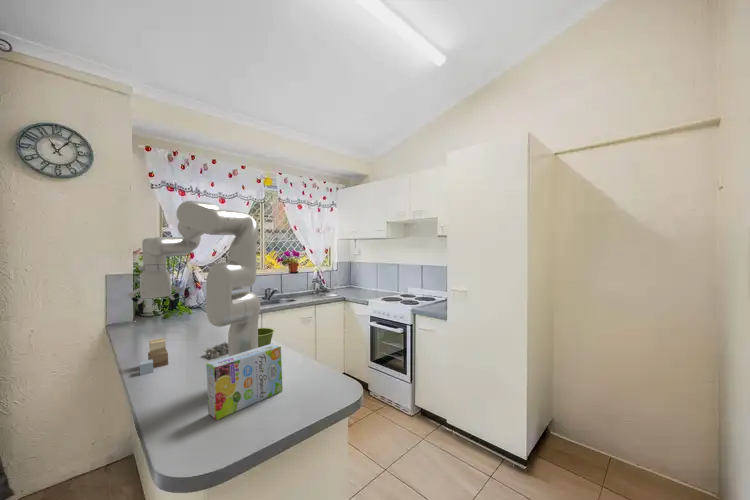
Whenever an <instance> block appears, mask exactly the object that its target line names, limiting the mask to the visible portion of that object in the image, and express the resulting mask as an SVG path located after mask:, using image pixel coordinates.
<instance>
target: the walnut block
mask: <svg viewBox="0 0 750 500" xmlns="http://www.w3.org/2000/svg"><path fill="white" fill-rule="evenodd" d="M151 359H153V369H156V368H159V367H160V368H161V367H165V366H168V365H169V352H168V351H167V349H166V353H164V354H159V355H154V356H150V351H149V352H147V360H151Z"/></svg>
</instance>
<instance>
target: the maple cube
mask: <svg viewBox="0 0 750 500" xmlns="http://www.w3.org/2000/svg"><path fill="white" fill-rule="evenodd" d="M148 346H149V352H150V356H154V355H159V354H164V353H166V350H167V349H166V348H167V347H166V339H165V337H160V338H156V339H149V345H148Z"/></svg>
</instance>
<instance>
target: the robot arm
mask: <svg viewBox="0 0 750 500" xmlns="http://www.w3.org/2000/svg"><path fill="white" fill-rule="evenodd" d="M175 214H176V218H177V220H178V223H177V231H178V233H179V234H180V236H157V237H147V238H143V239H142V241H141V242H142V243H141V244H142V245H141V246H142V248H141V249H142V265H141V266H139V267H138V271H142V272H141V273H140V277H139V287H138V288H136V289H134V290H132V291H130V292H128V296H129V298H130V299H131V300H132V301H133V302H134V303H136V304H137V310H138V313H140V315H143V314H144V307H143V305H144V304H143V301H144V300H146V299H156V298H157V299H158V298H165V297H167V298H169V300H168V301H169V302H168V303H169V310H170V311H173V309H174V308H175V299H176V298H177V297H178V296H179V295H180V293H181V291H182V288H181V287H179V286H176V285H172V281H171V275H170V272H169V271H167V257H175V256H176V257H178V256H179V257H180V256H185V255H188V254H190V253H192V252H193V251H194V250H196V249H198V247H199V246H200V243H201V239H202V236H203V235H204V234H206V235H211V236H235V237H234V238H233V240H231V243H230V246H229V249H228V250H229V251H228V252H229V253H228V257H229V258H228V261H224V262H218V263H216V264H214V265H212V266H211V267H210V269H209V270H208V273H207V276H206V282H205V283H206V287H205V288H206V289H205V290H206V293H205V294H206V296H205V297H206V301H205V302H206V303H205V304H206V306H205V307H206V316H207V319H208V322H209V323H210V324H211V325H213V327H214V326H215V327H218V328H219V327H220V328H221V327H225V326H229V328H228V334H227V343H228V353H227V354H228V357H229V356H233V355H236V354H239V353H243V352H246V351H249V350H252V349H256V348H258V328H259V318H260V313H261V300H260V298H259V296H258V295H257V294H256V293H254V292H252V291H241V292H240V291H239V292H235V293H233V291H238V290H242V289H247V288H249V287H252V286H253V285H254V284H255V283H256V279H257V245H258V238H259V237H258V236H259V227H258V223H257V222H256V220H255V218H254V217H253V216H251V214H248V213H246V212H243V211H239V210H230V209H229V210H228V209H221V208H220V207H219V206H218V205H217V204H214V203H211V202H205V201H197V200H196V201H195V200H186V201H183V202H182V203H180V204H179V205H178V206H177V210H176V213H175ZM172 290H175V291H176V292H174V294H173V295H172ZM137 293H139V295H140V297H139V298H137V297H135V295H136V294H137Z"/></svg>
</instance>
